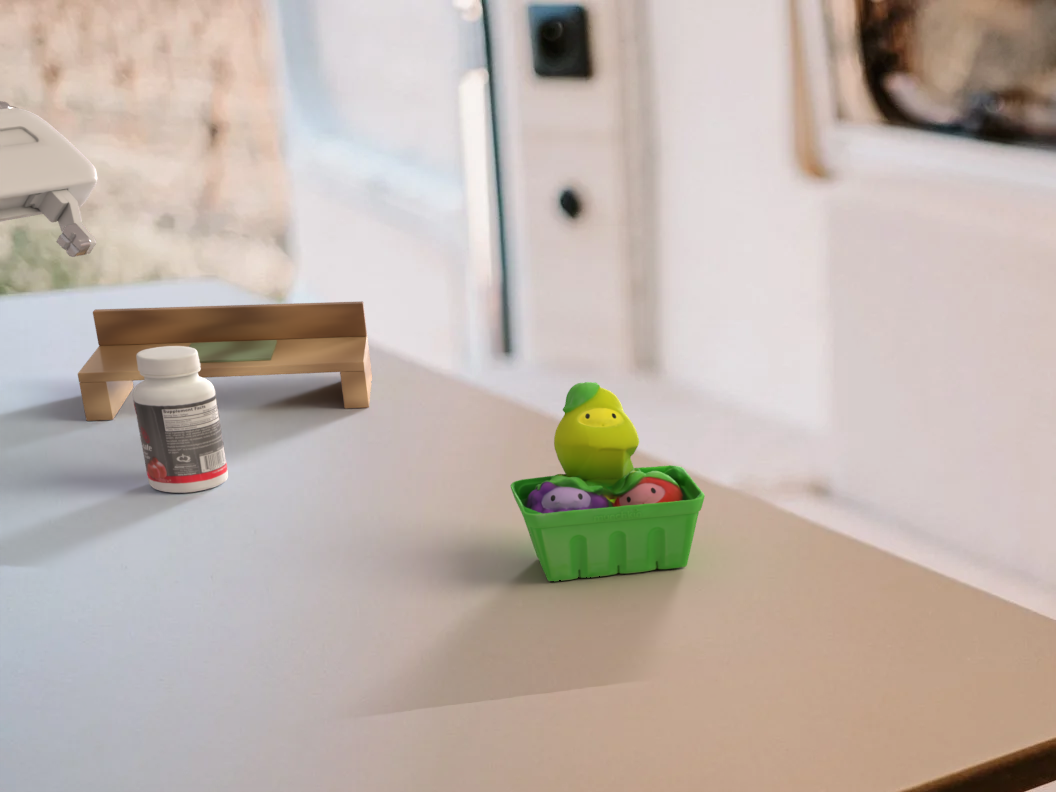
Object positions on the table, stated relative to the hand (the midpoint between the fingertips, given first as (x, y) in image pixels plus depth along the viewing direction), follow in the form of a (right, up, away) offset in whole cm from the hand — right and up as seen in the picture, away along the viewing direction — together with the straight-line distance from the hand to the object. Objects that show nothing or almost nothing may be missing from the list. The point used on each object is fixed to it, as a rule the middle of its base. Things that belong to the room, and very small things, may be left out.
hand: (33, 261), depth 116 cm
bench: (+4, -6, +25) cm, 26 cm away
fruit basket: (+44, -22, -10) cm, 50 cm away
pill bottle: (+10, -16, +3) cm, 19 cm away
